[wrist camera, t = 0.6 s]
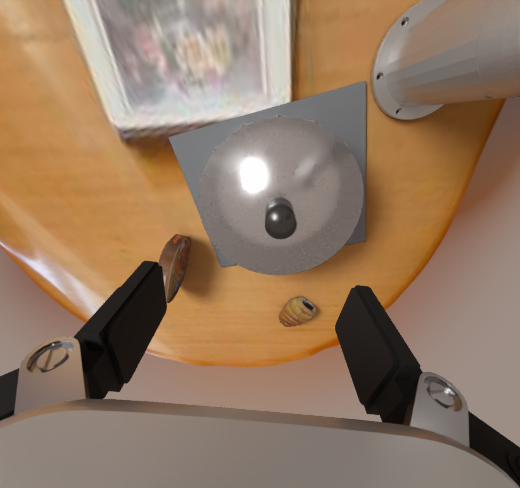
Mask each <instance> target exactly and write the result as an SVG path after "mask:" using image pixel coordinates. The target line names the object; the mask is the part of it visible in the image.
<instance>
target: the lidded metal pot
mask: <svg viewBox="0 0 520 488" xmlns="http://www.w3.org/2000/svg"><path fill="white" fill-rule="evenodd" d="M199 182H200V185H199V195H198V202H199V211H200V217H201V220H202V223H203V226H204V228H205V230H206V233H207V235H208V236H209V238H210V239H211V241H212V242H213V244H214V245H215V246H216V247H217V249H218V250H219V251H220V252H221V253H222V254H223V255H224V256H226V257H227V258H228V259H230V260H231V261H232V262H234V263H236V264H237V265H239V266H241V267H243V268H246V269H248V270H251V271H254V272H257V273H262V274H269V275H288V274H294V273H299V272H303V271H306V270H309V269H311V268H314V267H316V266H318V265H320V264H321V263H323V262H325V261H326V260H328V259H329V258H331V257H332V256H333V255H334V254H336V253H337V252H338V251H339V250H340V249H341V248H342V247H343V245H344V244H345V243H346V242H347V241H348V239H349V238H350V236H351V235H352V233H353V231H354V229H355V227H356V225H357V223H358V220H359V218H360V215H361V210H362V206H363V195H364V191H363V181H362V175H361V172H360V169H359V167H358V164H357V161H356V159H355V158H354V156H353V154H352V153H351V151H350V150H349V148H348V146H347V144H346V142H344V141H342V140H341V139H340V138H338V137H337V136H336V135H335V134H334V133H333V132H331V131H329V130H328V129H326V128H325V127H324V126H322V125H321V124H320V123H319V122H317V121H316V120H306V119H301V118H295V117H289V116H284V115H281V114H280V115H278V114H277V115H276V116H273V117H269V118H266V119H262V120H259V121H255V122H251V123H245V124H243V125H241V126H240V127H239V128H238V129H237V130H236V131H235V132H234V133H232V134H231V135H230V136H229V137H227V138H226V139H225V140H224V141H223V142H222V143H221V144H220V145H218V146H217V147H215V149H214V150H213V153H212V155H211V157H210V159H209V160H208V162H207V164H206V166H205V169H204V171H203V174H202V177H201V178H200V181H199Z"/></svg>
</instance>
